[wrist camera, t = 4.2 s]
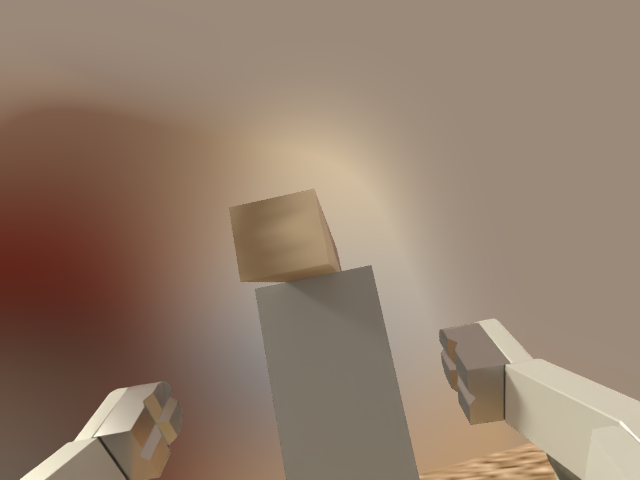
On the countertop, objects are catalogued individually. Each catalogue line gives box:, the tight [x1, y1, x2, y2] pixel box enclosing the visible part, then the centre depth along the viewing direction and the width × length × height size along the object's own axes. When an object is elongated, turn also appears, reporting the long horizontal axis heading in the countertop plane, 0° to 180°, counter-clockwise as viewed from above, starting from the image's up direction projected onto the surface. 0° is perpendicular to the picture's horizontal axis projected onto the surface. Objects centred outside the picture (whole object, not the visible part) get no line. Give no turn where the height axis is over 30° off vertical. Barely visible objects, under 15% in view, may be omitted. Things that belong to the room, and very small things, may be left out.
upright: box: [255, 265, 419, 480], centre depth 25 cm, size 9×13×26 cm
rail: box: [229, 189, 341, 282], centre depth 23 cm, size 4×22×3 cm, turn 174°
